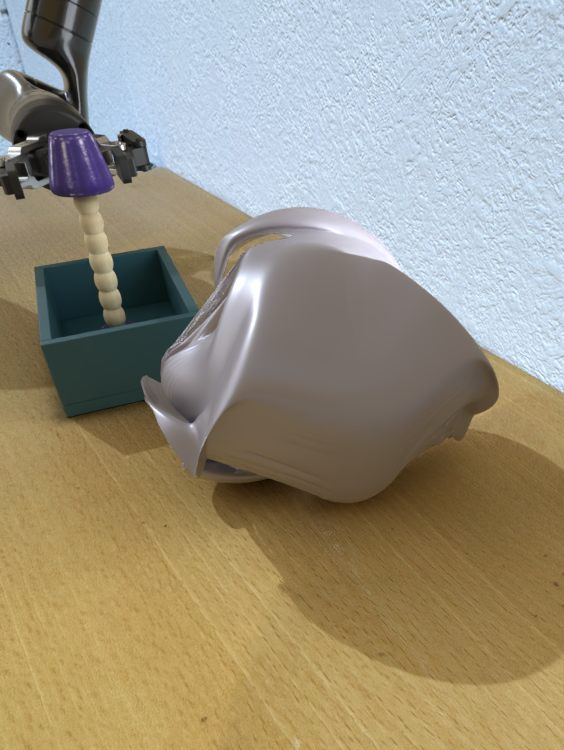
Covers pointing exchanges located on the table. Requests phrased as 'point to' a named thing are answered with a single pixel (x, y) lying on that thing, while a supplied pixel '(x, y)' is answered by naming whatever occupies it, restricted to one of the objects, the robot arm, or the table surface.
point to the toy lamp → (87, 207)
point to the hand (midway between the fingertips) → (72, 178)
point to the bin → (113, 345)
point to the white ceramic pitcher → (316, 364)
